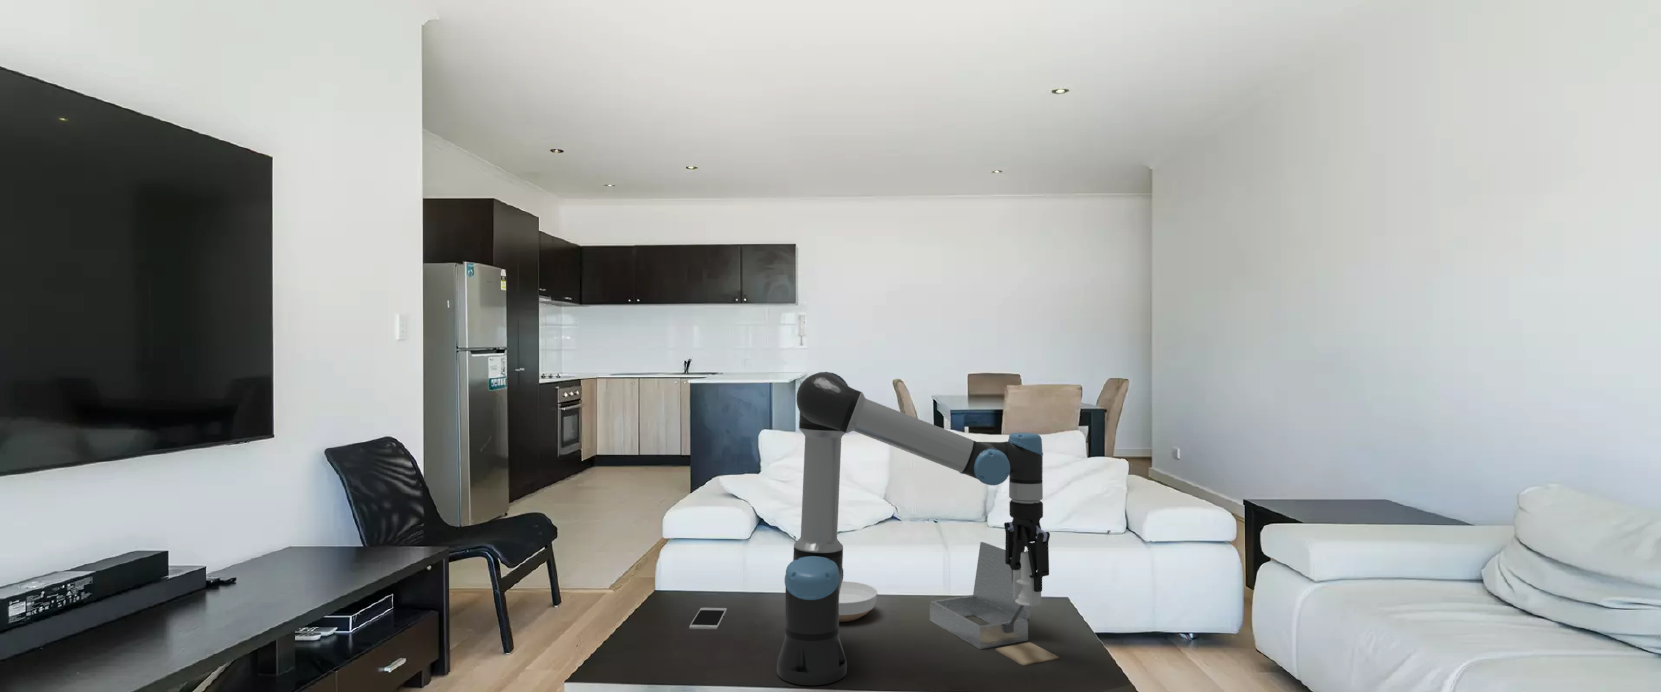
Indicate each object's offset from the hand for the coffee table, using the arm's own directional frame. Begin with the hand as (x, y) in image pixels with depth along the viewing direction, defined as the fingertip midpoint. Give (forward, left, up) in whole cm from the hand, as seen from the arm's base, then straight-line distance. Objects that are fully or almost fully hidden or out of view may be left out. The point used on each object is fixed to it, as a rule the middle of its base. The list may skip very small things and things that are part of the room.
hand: (1026, 601), depth 179 cm
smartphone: (-60, +54, -13) cm, 82 cm away
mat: (0, 0, -12) cm, 12 cm away
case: (0, +18, -12) cm, 21 cm away
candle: (0, 0, 0) cm, 1 cm away
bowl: (-27, +43, -12) cm, 52 cm away
